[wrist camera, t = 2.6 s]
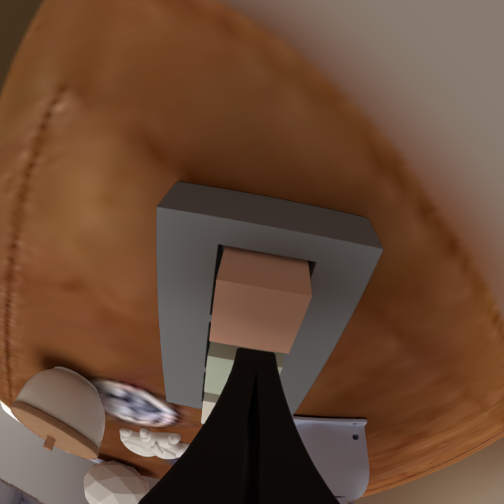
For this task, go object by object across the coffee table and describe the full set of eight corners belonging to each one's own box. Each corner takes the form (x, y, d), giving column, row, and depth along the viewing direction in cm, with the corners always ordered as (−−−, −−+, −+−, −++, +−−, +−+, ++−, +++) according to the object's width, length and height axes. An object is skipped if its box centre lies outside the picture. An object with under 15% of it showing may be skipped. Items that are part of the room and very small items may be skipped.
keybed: (367, 217, 15) (383, 249, 13) (289, 391, 25) (289, 420, 22) (176, 181, 15) (156, 206, 13) (174, 372, 25) (166, 401, 22)
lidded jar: (105, 370, 26) (73, 451, 18) (124, 415, 32) (104, 479, 24) (24, 341, 26) (-13, 406, 18) (54, 390, 32) (30, 446, 24)
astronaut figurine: (206, 451, 37) (203, 469, 34) (142, 446, 40) (138, 462, 37) (174, 426, 33) (169, 447, 30) (107, 422, 36) (101, 439, 33)
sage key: (282, 330, 17) (282, 367, 15) (269, 367, 19) (267, 401, 17) (215, 318, 17) (207, 355, 15) (210, 358, 19) (203, 391, 17)
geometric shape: (138, 445, 53) (165, 501, 41) (133, 476, 56) (157, 525, 44) (74, 448, 44) (94, 510, 32) (78, 480, 47) (97, 533, 36)
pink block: (307, 258, 14) (312, 295, 12) (288, 315, 16) (288, 353, 14) (225, 243, 14) (216, 279, 12) (217, 303, 16) (209, 340, 14)
